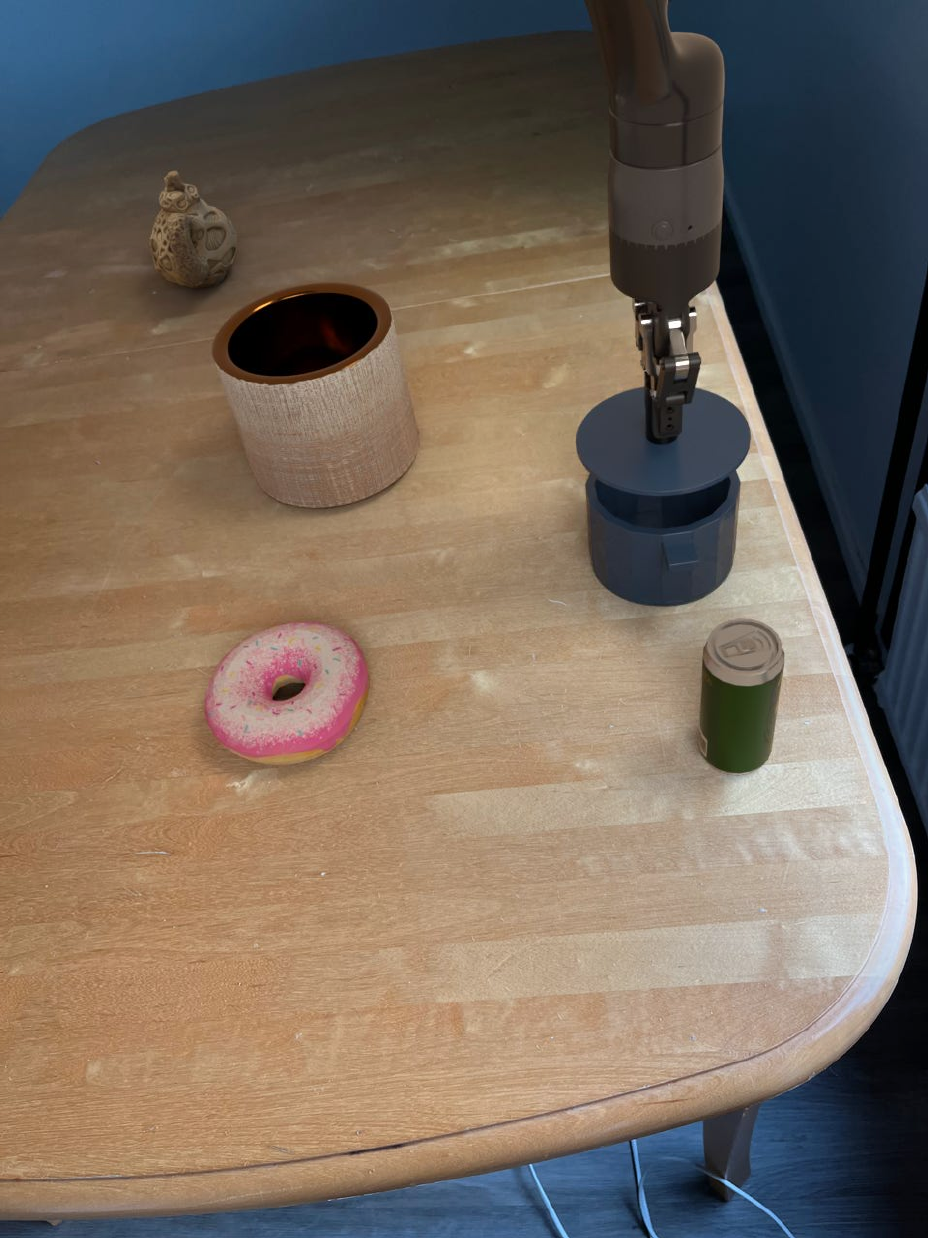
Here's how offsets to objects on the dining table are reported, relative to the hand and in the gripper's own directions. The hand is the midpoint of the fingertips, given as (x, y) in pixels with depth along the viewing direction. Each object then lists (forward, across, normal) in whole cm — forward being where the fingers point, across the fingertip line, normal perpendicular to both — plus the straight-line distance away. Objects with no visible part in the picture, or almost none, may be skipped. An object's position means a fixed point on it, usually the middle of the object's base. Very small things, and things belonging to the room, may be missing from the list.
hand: (662, 421), depth 81 cm
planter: (+15, +21, +30) cm, 40 cm away
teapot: (+15, +64, +49) cm, 82 cm away
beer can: (+15, -22, -1) cm, 26 cm away
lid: (+2, 0, 0) cm, 2 cm away
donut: (+15, -12, +33) cm, 38 cm away
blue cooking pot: (+15, 0, 0) cm, 15 cm away
